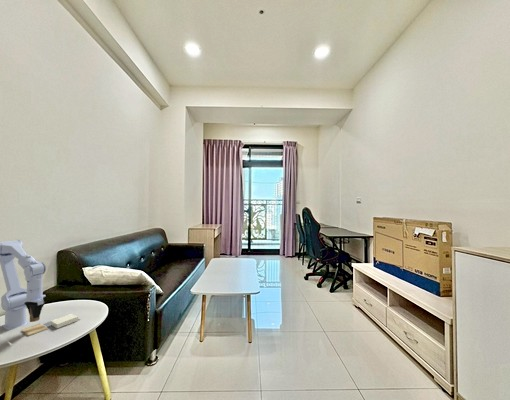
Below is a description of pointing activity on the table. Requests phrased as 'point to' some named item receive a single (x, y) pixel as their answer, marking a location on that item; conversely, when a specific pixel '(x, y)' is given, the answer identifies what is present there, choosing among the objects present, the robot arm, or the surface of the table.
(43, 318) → the table surface
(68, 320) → the tile
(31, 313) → the dowel
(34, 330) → the board
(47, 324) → the mat
